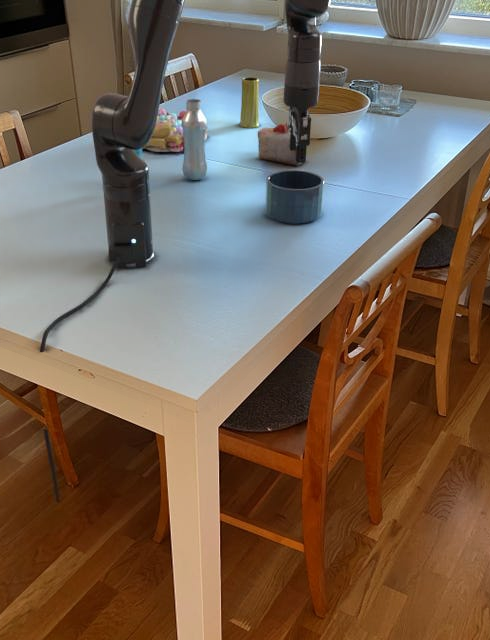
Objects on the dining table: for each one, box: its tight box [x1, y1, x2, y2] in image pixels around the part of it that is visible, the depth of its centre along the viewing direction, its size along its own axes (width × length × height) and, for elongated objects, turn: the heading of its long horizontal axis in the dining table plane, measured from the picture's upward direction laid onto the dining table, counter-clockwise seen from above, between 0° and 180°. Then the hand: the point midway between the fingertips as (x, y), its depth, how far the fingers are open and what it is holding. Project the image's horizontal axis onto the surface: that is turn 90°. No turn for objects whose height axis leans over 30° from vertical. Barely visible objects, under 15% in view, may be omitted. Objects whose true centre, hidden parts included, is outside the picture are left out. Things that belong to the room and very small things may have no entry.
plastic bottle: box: [181, 98, 208, 181], centre depth 191 cm, size 6×7×20 cm
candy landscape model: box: [142, 108, 208, 153], centre depth 220 cm, size 25×24×9 cm
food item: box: [257, 122, 305, 167], centre depth 206 cm, size 14×8×10 cm, turn 59°
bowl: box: [264, 169, 325, 225], centre depth 174 cm, size 13×13×8 cm
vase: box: [239, 76, 260, 129], centre depth 233 cm, size 6×6×14 cm
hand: (297, 156), depth 168 cm, fingers open, 8 cm apart
